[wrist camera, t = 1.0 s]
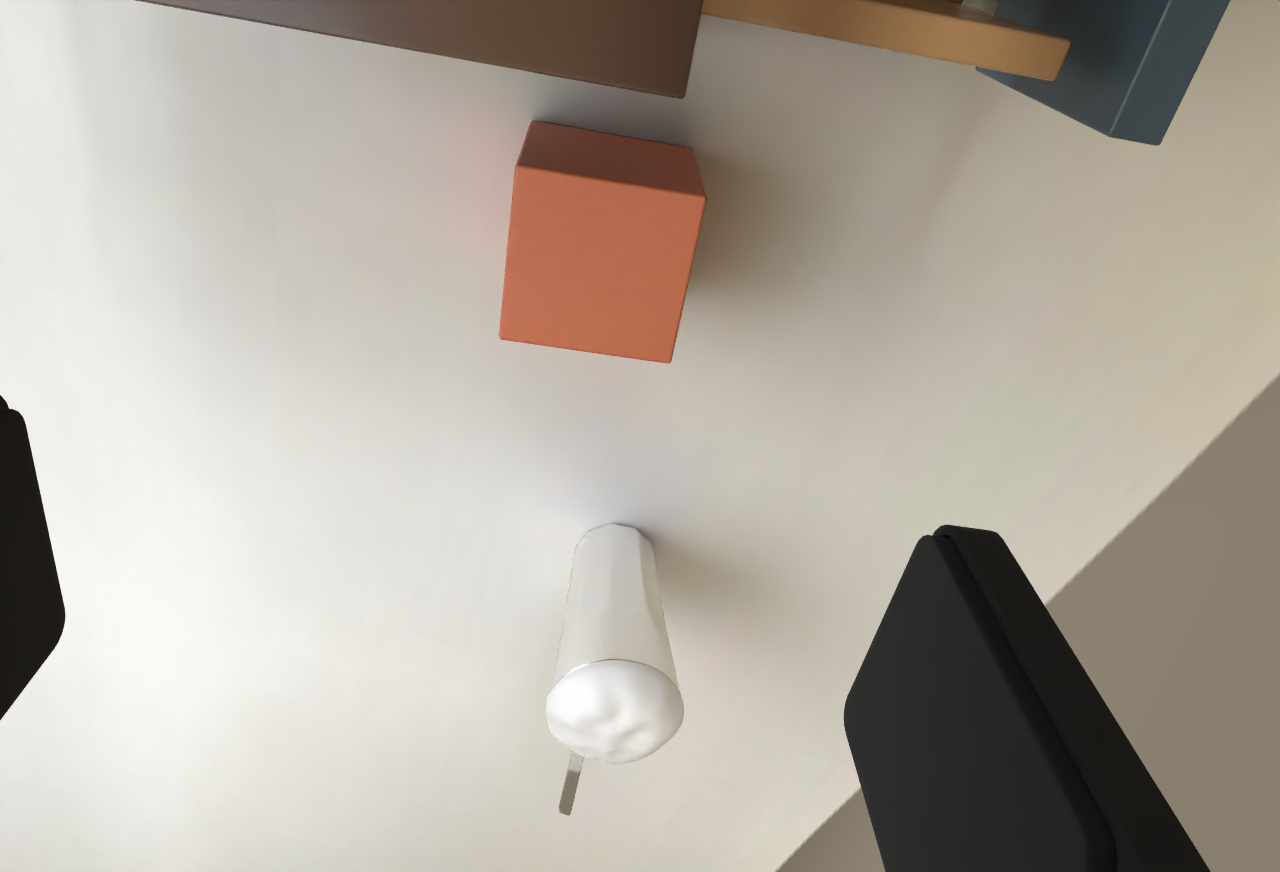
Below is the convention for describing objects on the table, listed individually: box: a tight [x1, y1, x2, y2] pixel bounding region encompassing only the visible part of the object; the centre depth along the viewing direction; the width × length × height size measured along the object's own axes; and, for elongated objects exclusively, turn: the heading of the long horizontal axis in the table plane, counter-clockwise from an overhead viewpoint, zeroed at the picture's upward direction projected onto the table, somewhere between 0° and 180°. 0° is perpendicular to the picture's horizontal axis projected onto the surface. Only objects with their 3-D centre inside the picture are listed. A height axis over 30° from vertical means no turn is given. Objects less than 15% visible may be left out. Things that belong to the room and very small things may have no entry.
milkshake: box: [546, 524, 684, 815], centre depth 31 cm, size 5×5×10 cm
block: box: [499, 121, 707, 363], centre depth 25 cm, size 5×5×5 cm
